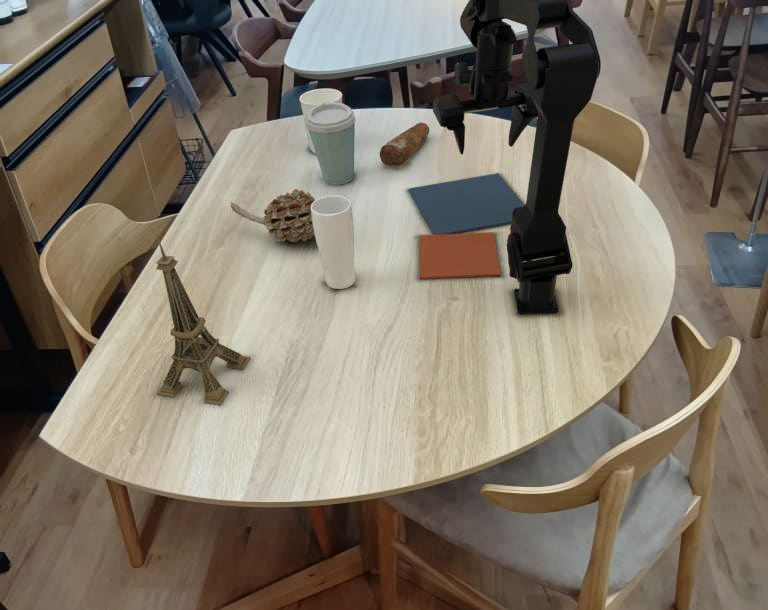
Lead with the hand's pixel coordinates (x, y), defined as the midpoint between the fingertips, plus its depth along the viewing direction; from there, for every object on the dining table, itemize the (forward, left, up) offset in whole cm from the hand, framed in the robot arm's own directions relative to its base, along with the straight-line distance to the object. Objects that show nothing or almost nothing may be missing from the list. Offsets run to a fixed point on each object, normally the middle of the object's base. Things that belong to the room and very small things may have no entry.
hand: (485, 149), depth 120 cm
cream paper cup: (+38, +34, -15) cm, 53 cm away
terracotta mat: (-12, +5, -15) cm, 20 cm away
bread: (+33, +15, -15) cm, 39 cm away
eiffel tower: (-43, +45, -15) cm, 64 cm away
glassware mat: (+7, +2, -15) cm, 16 cm away
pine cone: (-3, +39, -15) cm, 42 cm away
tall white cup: (-19, +26, -15) cm, 36 cm away
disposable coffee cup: (+21, +30, -15) cm, 40 cm away
